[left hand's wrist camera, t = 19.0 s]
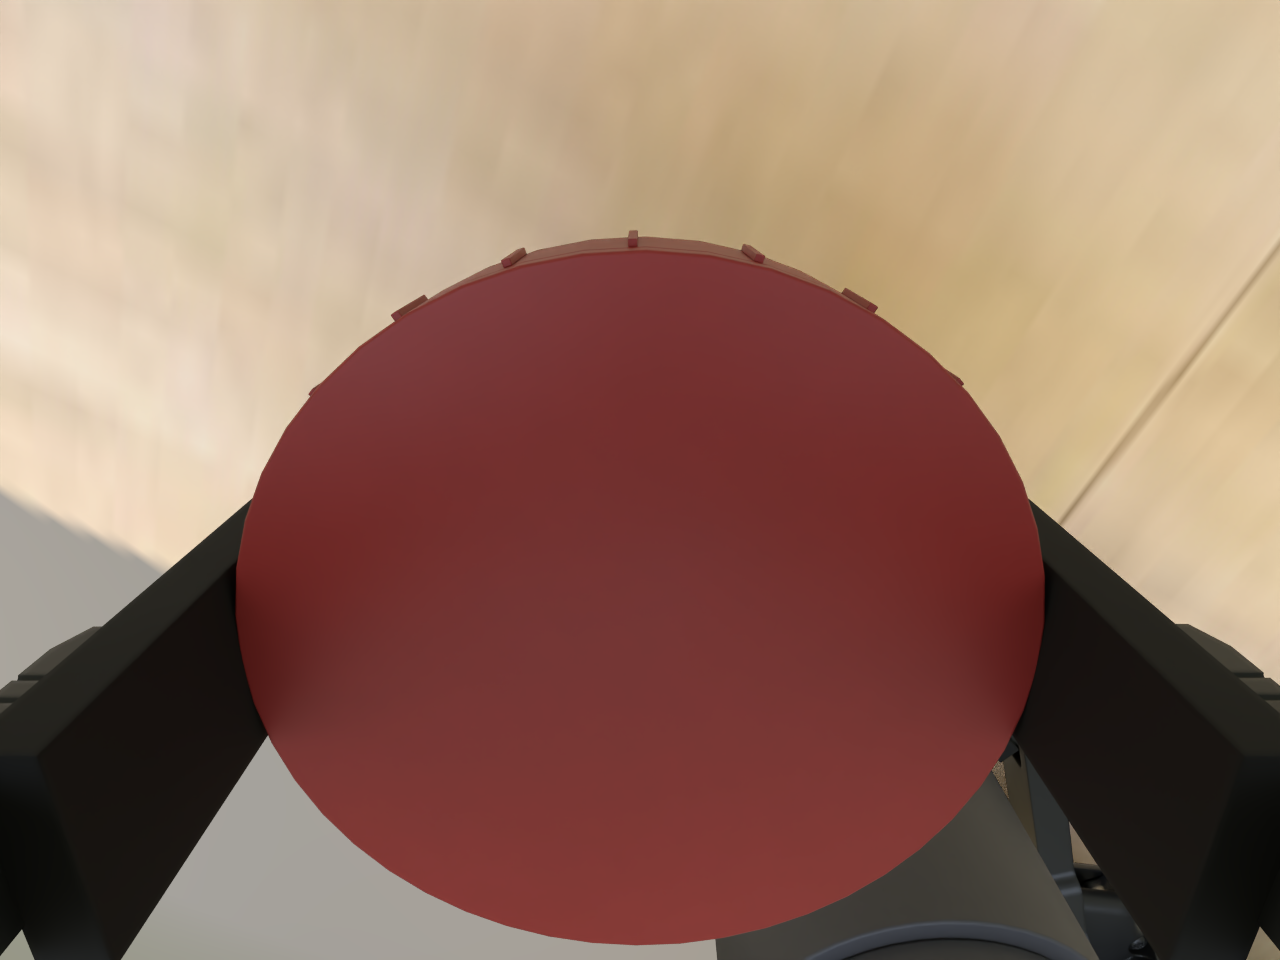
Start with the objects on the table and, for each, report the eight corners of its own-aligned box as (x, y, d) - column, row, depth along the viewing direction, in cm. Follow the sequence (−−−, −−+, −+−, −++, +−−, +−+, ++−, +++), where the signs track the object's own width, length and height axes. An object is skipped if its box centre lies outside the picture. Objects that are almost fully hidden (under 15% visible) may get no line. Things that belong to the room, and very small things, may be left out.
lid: (687, 942, 15) (693, 1040, 13) (163, 645, 12) (89, 719, 11) (1141, 545, 12) (1224, 607, 10) (562, 40, 9) (545, 13, 8)
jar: (663, 607, 34) (681, 1041, 17) (893, 545, 33) (1153, 946, 16) (724, 780, 37) (788, 1277, 21) (933, 729, 36) (1179, 1213, 20)
